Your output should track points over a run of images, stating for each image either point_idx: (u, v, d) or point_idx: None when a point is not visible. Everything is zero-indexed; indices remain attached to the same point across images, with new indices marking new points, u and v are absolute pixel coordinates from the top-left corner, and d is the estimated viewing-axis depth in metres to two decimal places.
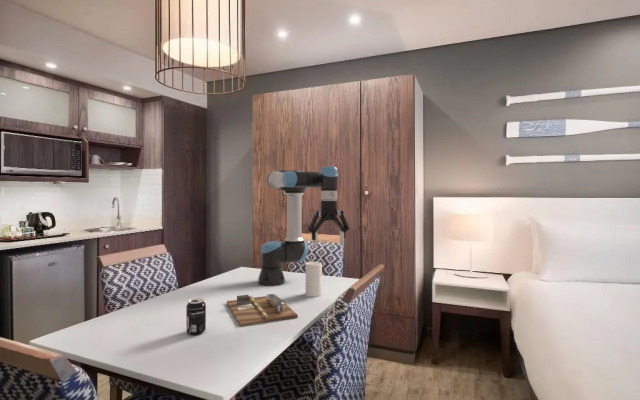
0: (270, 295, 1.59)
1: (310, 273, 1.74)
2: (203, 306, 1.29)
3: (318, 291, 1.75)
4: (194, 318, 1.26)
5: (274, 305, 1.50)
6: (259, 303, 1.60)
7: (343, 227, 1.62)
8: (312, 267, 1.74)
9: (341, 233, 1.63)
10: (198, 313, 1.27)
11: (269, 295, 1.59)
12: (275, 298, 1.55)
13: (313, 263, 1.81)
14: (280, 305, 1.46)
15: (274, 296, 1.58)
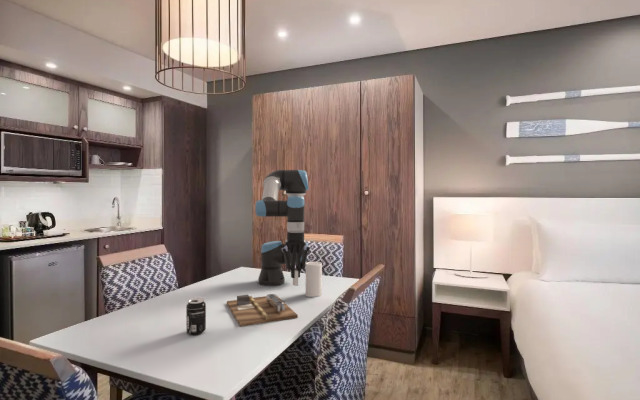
0: (270, 295, 1.59)
1: (310, 273, 1.74)
2: (203, 306, 1.29)
3: (318, 291, 1.75)
4: (194, 318, 1.26)
5: (274, 305, 1.50)
6: (259, 303, 1.60)
7: (299, 265, 1.53)
8: (312, 267, 1.74)
9: None
10: (198, 313, 1.27)
11: (269, 295, 1.59)
12: (275, 298, 1.55)
13: (313, 263, 1.82)
14: (280, 305, 1.46)
15: (274, 296, 1.58)
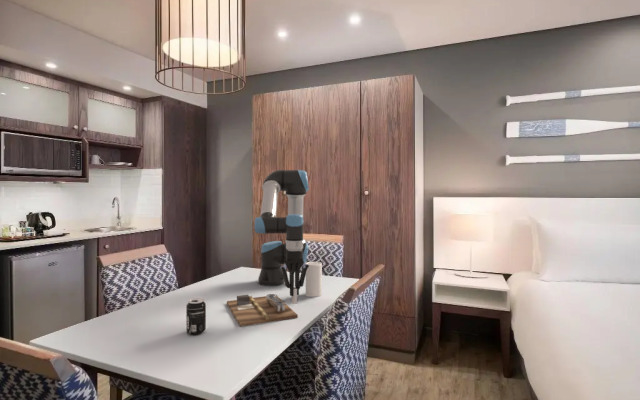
0: (270, 295, 1.59)
1: (310, 273, 1.74)
2: (203, 306, 1.29)
3: (318, 291, 1.75)
4: (194, 318, 1.26)
5: (274, 305, 1.50)
6: (259, 303, 1.60)
7: (298, 283, 1.53)
8: (312, 267, 1.74)
9: None
10: (198, 313, 1.27)
11: (269, 295, 1.59)
12: (275, 298, 1.55)
13: (313, 263, 1.82)
14: (280, 305, 1.46)
15: (274, 296, 1.58)
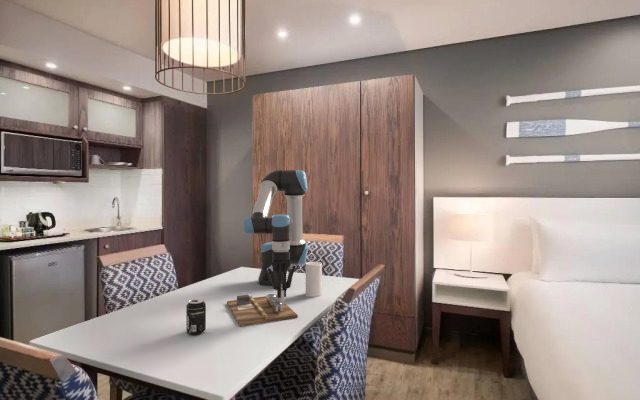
0: (270, 295, 1.60)
1: (310, 273, 1.74)
2: (203, 306, 1.29)
3: (318, 291, 1.75)
4: (194, 318, 1.26)
5: (273, 305, 1.50)
6: (259, 303, 1.60)
7: (285, 285, 1.50)
8: (312, 267, 1.74)
9: None
10: (198, 313, 1.27)
11: (269, 295, 1.60)
12: (274, 298, 1.55)
13: (313, 263, 1.81)
14: (278, 305, 1.46)
15: (274, 296, 1.58)
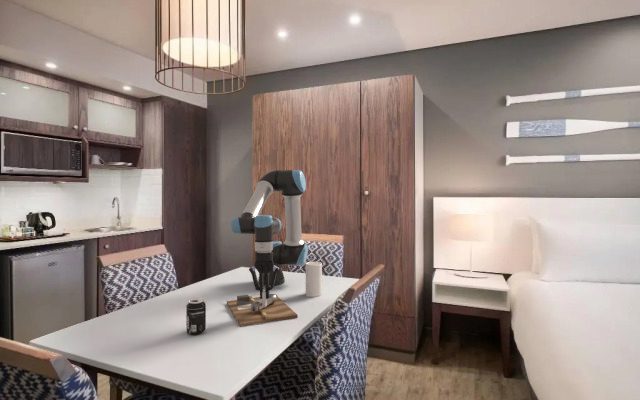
0: (270, 295, 1.60)
1: (310, 273, 1.74)
2: (203, 306, 1.29)
3: (318, 291, 1.75)
4: (194, 318, 1.26)
5: None
6: None
7: (267, 286, 1.48)
8: (312, 267, 1.74)
9: None
10: (198, 313, 1.27)
11: (270, 295, 1.60)
12: None
13: (313, 263, 1.82)
14: (252, 305, 1.46)
15: (271, 296, 1.58)
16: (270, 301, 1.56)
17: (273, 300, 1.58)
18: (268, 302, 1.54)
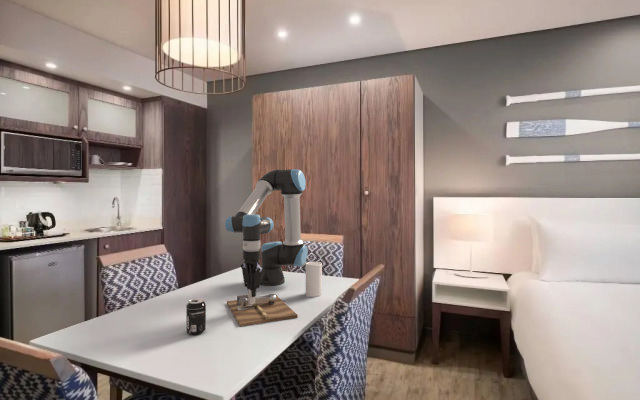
0: (271, 295, 1.60)
1: (310, 273, 1.74)
2: (203, 306, 1.29)
3: (318, 291, 1.75)
4: (194, 318, 1.26)
5: None
6: None
7: (251, 285, 1.50)
8: (312, 267, 1.74)
9: None
10: (198, 313, 1.27)
11: (271, 294, 1.60)
12: (261, 297, 1.57)
13: (313, 263, 1.82)
14: (239, 300, 1.53)
15: (268, 296, 1.58)
16: (265, 300, 1.57)
17: (270, 300, 1.57)
18: (262, 301, 1.56)
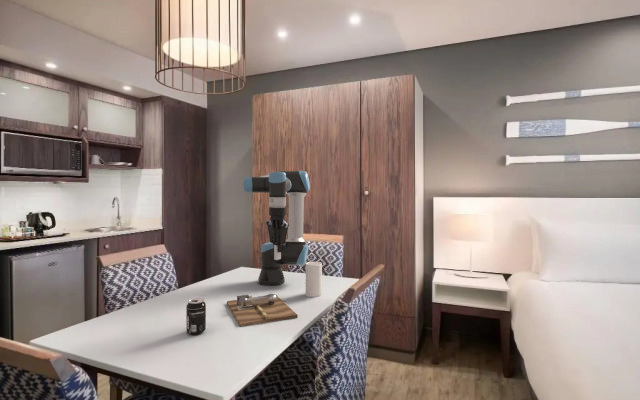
0: (271, 295, 1.60)
1: (310, 273, 1.74)
2: (203, 306, 1.29)
3: (318, 291, 1.75)
4: (194, 318, 1.26)
5: None
6: None
7: (278, 240, 1.54)
8: (312, 267, 1.74)
9: None
10: (198, 313, 1.27)
11: (271, 294, 1.60)
12: (261, 297, 1.57)
13: (313, 263, 1.82)
14: (239, 300, 1.53)
15: (268, 296, 1.58)
16: (265, 300, 1.57)
17: (270, 300, 1.57)
18: (262, 301, 1.56)
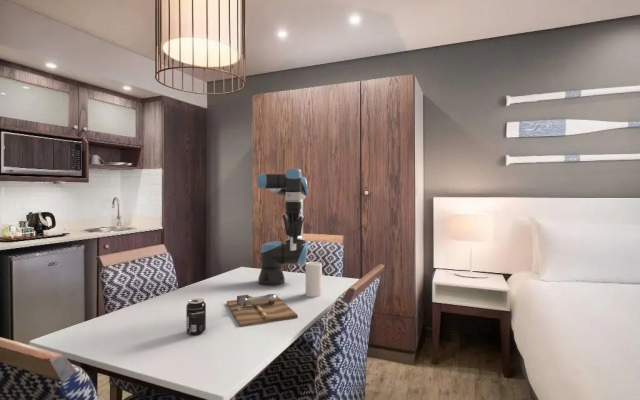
0: (271, 295, 1.60)
1: (310, 273, 1.74)
2: (203, 306, 1.29)
3: (318, 291, 1.75)
4: (194, 318, 1.26)
5: None
6: None
7: (293, 232, 1.65)
8: (312, 267, 1.74)
9: None
10: (198, 313, 1.27)
11: (271, 294, 1.60)
12: (261, 297, 1.57)
13: (313, 263, 1.81)
14: (239, 300, 1.53)
15: (268, 296, 1.58)
16: (265, 300, 1.57)
17: (270, 300, 1.57)
18: (262, 301, 1.56)
